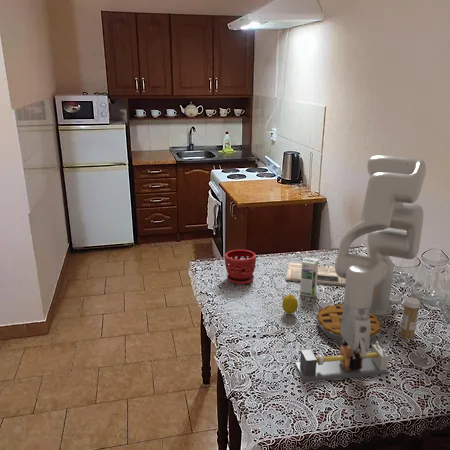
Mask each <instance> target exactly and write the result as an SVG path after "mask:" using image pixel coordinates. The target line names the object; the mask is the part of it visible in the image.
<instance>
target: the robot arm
mask: <svg viewBox="0 0 450 450" xmlns="http://www.w3.org/2000/svg"><path fill="white" fill-rule="evenodd" d="M366 168H367V173H368V175H369V178H368V181H367V187H366V191H365V196H364V201H363V207H362V210H361V215H360V219H359V221H358V222H356V224H354V225H353V226H351V227H350V228H349V229H348V230H347V231H346V233H345V234H344V235H343V236H342V238H341V240H340V242H339V246H338V249H337V250H338V251H337V254H336V259H335V266H334V267H335V271H336V274H337V275H338V276H339V277H341V278H345V279H346V283H345V286H344V296H343V302H342V305H343V314H342V319H341V327H340V332H341V335H342V338H343V339H342V342H341V346H342V345H349V346H350V348H351V349H352V357H350V366H349V369H350V370H357V369H360V368H361V360H362V358H363V357H366V356H367V355H366V353H367V351H368V350H369V348H370V343H371V341H370V318H369V317H370V312H371V313H372V314H373V315H376V316H377V317H386V316H389V315H391V314H392V313H393V309H394V308H393V306H394V305H401V304H402V299H401V298H395V296H391V292H392V283H393V275H394V272H395V271H394V269H395V268H394V263H393V260H392V259H391V258H390V257H393V258H398V259H403V260H414V259H415V258H417V256H418V254H419V252H420V251H419V250H420V246H421V245H420V244H421V238H422V231H423V225H424V217H425V216H424V209H423V207H422V206H421V205H420V204H418V203H416V201H418V199H419V197H420V194H421V191H422V187H423V184H424V180H425V178H426V177H425V176H426V173H427V165H426V162H425V161H424V160H423V159H420V158H417V157H416V158H415V157H404V156H393V155H373V156H371V157H370V158H369V159H368V160H367V167H366ZM364 235H367V236H366V256H363V255H359V254H354V253H353V254H352V253H349V251H350V248H351V245H352V244H353V242H355V241H356V239H358V238H360V237H361V236H364ZM358 350H359V353H358V354H355V351H358Z"/></svg>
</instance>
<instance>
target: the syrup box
mask: <svg viewBox="0 0 450 450" xmlns="http://www.w3.org/2000/svg"><path fill="white" fill-rule="evenodd" d="M319 259H320V258H319ZM319 259H317V258H311V257H306V256H305V257H304V258H303V260H302V262H301V264H302V269H301V281H300V286H299V287H300V288H299V289H300V290H299V295H300V296H304V297H309V298H314V297H315V295H316V293H317V287H318V286H317V284H318V283H317V275H318V265H319V262H320V261H319Z"/></svg>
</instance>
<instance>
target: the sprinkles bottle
mask: <svg viewBox="0 0 450 450" xmlns="http://www.w3.org/2000/svg"><path fill="white" fill-rule="evenodd" d="M403 305H404V308H403V312H402V317H401V319H402V320H401V328H400V332H399V335H400V337H402V338H404V339H406V340H407V339H408V340H412V339H414V338H415V331H416V327H417V322H418V314H419V313H418V312H419V309H420V305H421V301H420V300H419V299H417V298H415V297H412V296H411V297H409V296H408V297H406V298H405V299H404V304H403Z"/></svg>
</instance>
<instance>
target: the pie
mask: <svg viewBox="0 0 450 450" xmlns="http://www.w3.org/2000/svg"><path fill="white" fill-rule="evenodd" d="M342 314H343V304H339V303H334V304H333V305H329V304H327V305H325V306H324V308H319V309H318V311H317V313H316V315H315V319H316V323H317V324H318V325H319V328H320V330H321V331H322V332H323V333H324V335H325V336H327V337H328V338H329V339H331V340H333V341H335V342H338V343H342V339H343V338H342V335H341V332H340V327H341V319H342ZM369 318H370V342H372V341H374V340H375V339H376V338H377V337H378V335H380V334H381V332H382V330H383V326H382V323H381V322H382V321H381V320H380V319H379V316H376V315H373V314H372V313H371V312H370V317H369Z"/></svg>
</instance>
